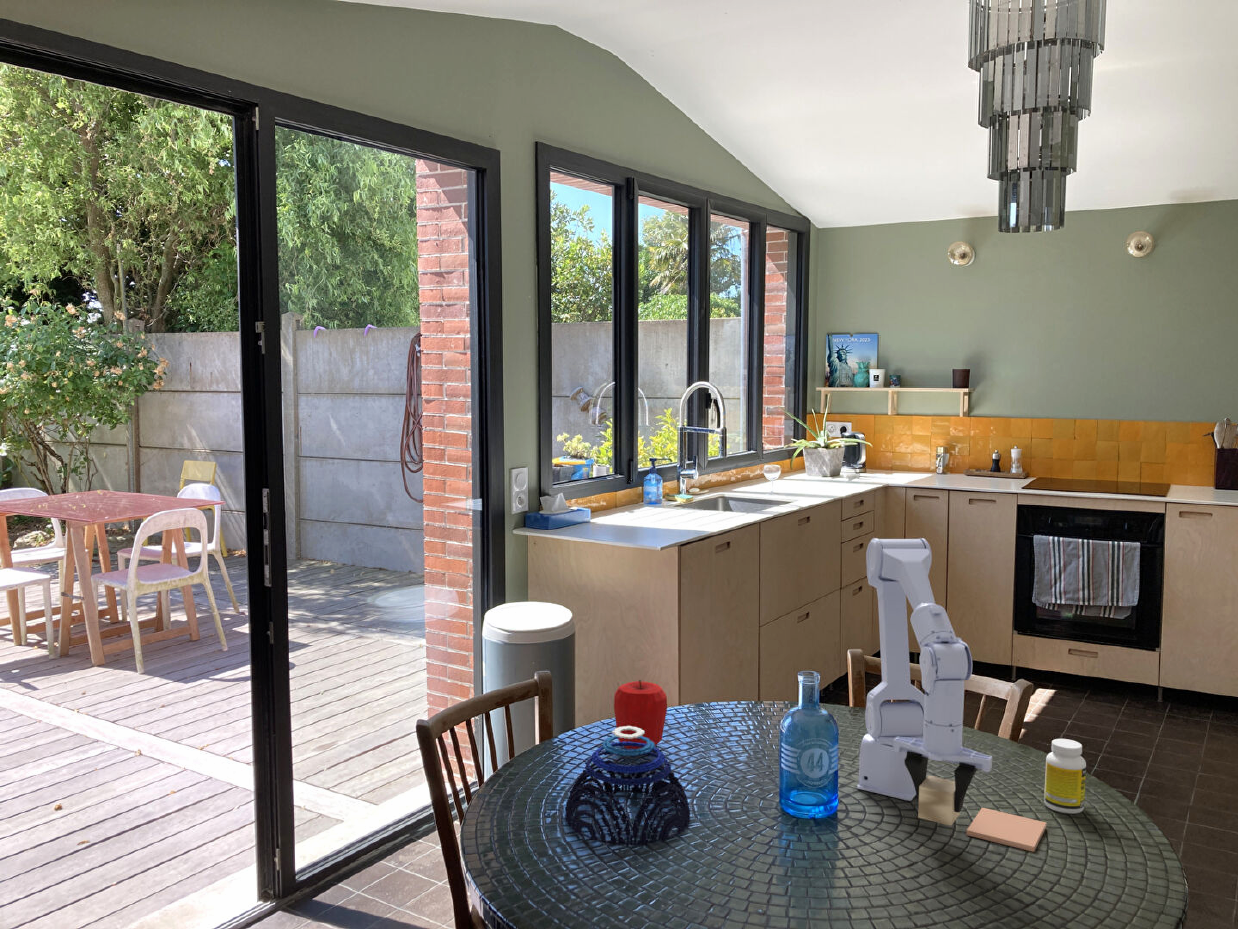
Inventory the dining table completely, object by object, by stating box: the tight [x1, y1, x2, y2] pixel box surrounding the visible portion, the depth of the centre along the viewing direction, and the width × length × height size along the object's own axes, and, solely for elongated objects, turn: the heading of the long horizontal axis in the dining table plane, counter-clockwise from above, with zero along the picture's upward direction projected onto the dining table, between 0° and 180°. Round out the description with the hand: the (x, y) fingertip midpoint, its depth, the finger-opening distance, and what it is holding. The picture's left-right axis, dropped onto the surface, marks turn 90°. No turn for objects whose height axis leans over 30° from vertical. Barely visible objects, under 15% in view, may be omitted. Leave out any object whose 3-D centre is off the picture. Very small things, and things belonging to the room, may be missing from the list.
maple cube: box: [917, 775, 961, 826], centre depth 153 cm, size 5×5×5 cm
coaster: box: [966, 807, 1047, 853], centre depth 158 cm, size 10×10×1 cm
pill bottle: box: [1043, 738, 1087, 815], centre depth 167 cm, size 6×6×11 cm
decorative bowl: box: [564, 726, 691, 846], centre depth 161 cm, size 20×20×14 cm
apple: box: [613, 679, 668, 749], centre depth 191 cm, size 11×10×14 cm
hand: (939, 805), depth 153 cm, fingers closed on maple cube, 5 cm apart
